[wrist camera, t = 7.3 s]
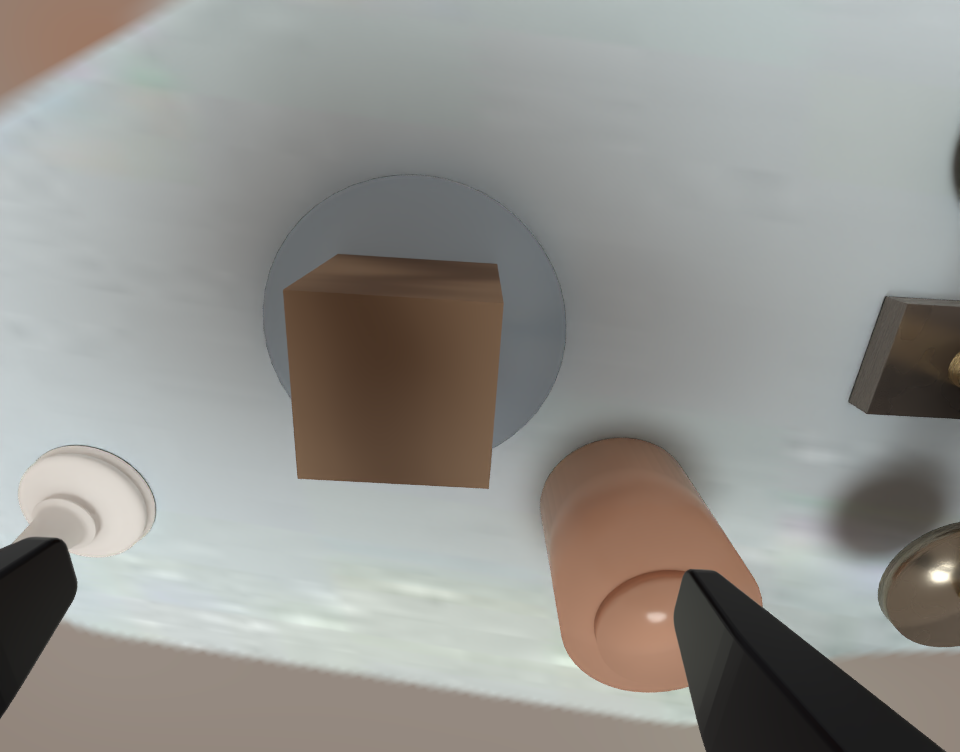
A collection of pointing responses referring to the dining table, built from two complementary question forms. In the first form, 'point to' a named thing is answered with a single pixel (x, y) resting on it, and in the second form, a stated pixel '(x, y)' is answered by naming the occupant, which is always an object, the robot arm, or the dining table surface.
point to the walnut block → (394, 370)
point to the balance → (920, 393)
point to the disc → (437, 236)
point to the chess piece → (86, 501)
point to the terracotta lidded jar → (628, 559)
